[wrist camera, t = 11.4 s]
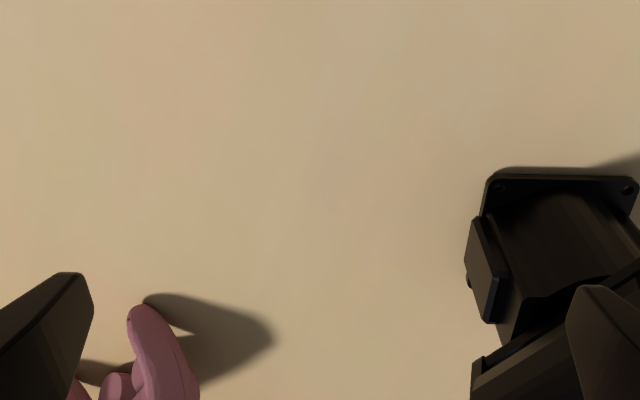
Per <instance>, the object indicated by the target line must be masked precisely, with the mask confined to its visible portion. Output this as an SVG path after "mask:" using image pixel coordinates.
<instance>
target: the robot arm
mask: <svg viewBox="0 0 640 400" xmlns="http://www.w3.org/2000/svg"><path fill="white" fill-rule="evenodd" d="M499 183H502V186H501V187H499V188H494V186H495V185H496V184H499ZM626 186H629V187H628V189H626V190H624V191H622V189H623V188H624V187H626ZM639 189H640V187H639V184H638V183H637V182H636V181H635V180H634V179H633V178H632V177H628V176H591V175H541V174H494V175H492V176H490V177H489V178H488V179H487V181H486V184H485V188H484V193H483V198H482V203H481V207H480V212H479V216H476V217H475V218H474V219H473V220H472V221H471V226H470V231H469V236H468V241H467V246H466V251H465V256H464V263H465V267H466V270H467V274H466V281H467V284H468V286H469V288H471V289H472V290H473V293H474V296H475V300H476V303H477V306H478V309H479V313H480V316H481V319H482V320H483V321H484V322H485V323H486V324H495V326H496V329H497V332H498V335H499V338H500V341H501V344H502V347H501V348H499V349H497V350H496V351H494V352H493V353H491V354H490V355H488V356H487V357H485V356H482V357H480V358H479V359H477V360H476V361H474V362H473V363H472V371H471V387H470V400H640V230H639V229H638V228H637V227H636V225H635V224H634V223H633V222H632V220H631V219H630V218H629V215H630V213H631V210H632V208H633V205H634V203H635V200H636V198H637V195H638V193H639ZM93 315H94V304H93V301H92V298H91V295H90V292H89V289H88V286H87V283H86V280H85V277H84V276H83V275H82V274H81V273H78V272H59V273H56V274H55V275H53V276H51V277H50V278H48V279H47V280H45V281H44V282H42V283H41V284H39V285H37V286H36V287H34V288H33V289H31V290H30V291H28V292H27V293H25V294H24V295H22V296H20V297H19V298H17V299H16V300H14V301H13V302H11V303H10V304H8V305H7V306H5V307H3V308H2V309H0V400H66V399H67V396H68V394H69V391H70V388H71V386H72V383H73V380H74V377H75V373H76V370H77V367H78V364H79V361H80V358H81V354H82V351H83V348H84V345H85V342H86V338H87V335H88V332H89V329H90V326H91V323H92V319H93Z"/></svg>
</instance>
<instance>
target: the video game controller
mask: <svg viewBox="0 0 640 400" xmlns="http://www.w3.org/2000/svg"><path fill="white" fill-rule="evenodd" d="M127 332H128V337H129V340H130V343H131V346H132V348H133V350H134V353H135V355H136V357H137V358H136V360H135V362H134V364H133V367H132V374H130V373H121V372H117V373H115V372H113V373H110V374H109V375H108V376H107V377H106V378H105V379H104V381H103V383H102V386H101V389H100V393H99V398H98V400H200V389H199V383H198V379H197V377H196V376H195V374H194V372H192V371H191V370H190V369H189V366H188V364H187V361H186V358H185V356H184V353H183V351H182V349H181V346H180V344H179V342H178V340H177V338H176V336H175V334H174V333H173V331H172V329H171V327H170V326H169V325H168V323H167V322H166V321H165V319H164V318H163V317H162V316H161V315H160V314H159V313H158V312H157V311H156V310H154V309H153V308H151V307H150V306H148V305H146V304H141V305H137V306H135V307H133V308H132V309H131V310H130V311H129V313H128V317H127ZM136 392H137V393H138V394H137V395H136ZM66 400H92V399H91V397H90V396H89V394H88V393H87V391H86V390H85V388H84V387H83V386H82V384H81V383H80V382H79V381H78V380H77V379H76V378H75V377H74V380H73V383H72V386H71V388H70V391H69V394H68V396H67V399H66Z"/></svg>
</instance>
